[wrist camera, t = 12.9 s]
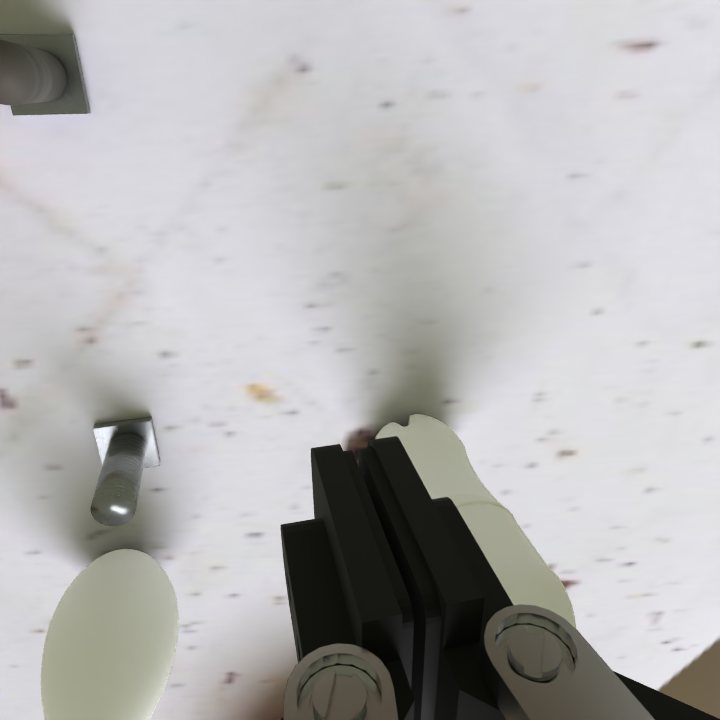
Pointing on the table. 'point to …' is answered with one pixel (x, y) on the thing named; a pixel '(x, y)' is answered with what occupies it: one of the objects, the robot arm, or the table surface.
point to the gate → (29, 75)
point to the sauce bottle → (111, 641)
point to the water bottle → (481, 513)
